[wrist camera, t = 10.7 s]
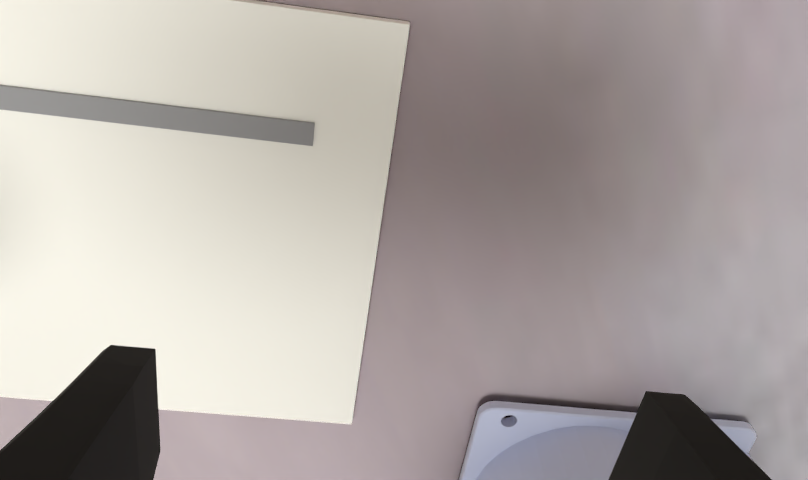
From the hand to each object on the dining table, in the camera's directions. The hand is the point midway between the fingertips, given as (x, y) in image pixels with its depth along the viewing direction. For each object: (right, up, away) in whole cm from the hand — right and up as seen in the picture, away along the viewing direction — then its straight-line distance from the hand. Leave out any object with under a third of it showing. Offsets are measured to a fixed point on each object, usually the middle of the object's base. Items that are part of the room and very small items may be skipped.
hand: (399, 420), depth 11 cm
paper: (-9, +3, +9) cm, 13 cm away
